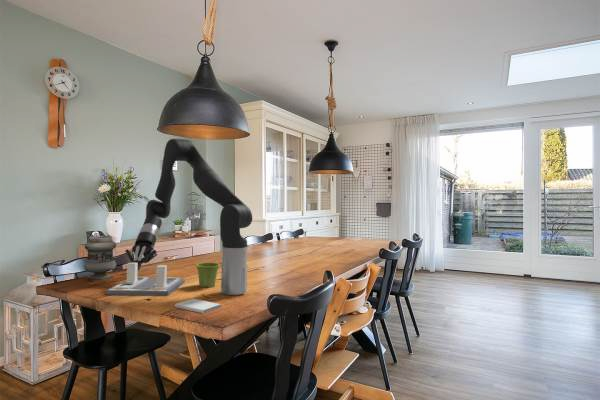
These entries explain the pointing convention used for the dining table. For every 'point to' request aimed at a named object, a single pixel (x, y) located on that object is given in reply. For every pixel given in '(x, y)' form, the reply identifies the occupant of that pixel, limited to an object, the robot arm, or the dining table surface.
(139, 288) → the switch board
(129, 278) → the tab
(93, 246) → the apothecary jar
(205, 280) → the plant pot
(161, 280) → the tab
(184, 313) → the dining table surface
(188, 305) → the external hard drive
